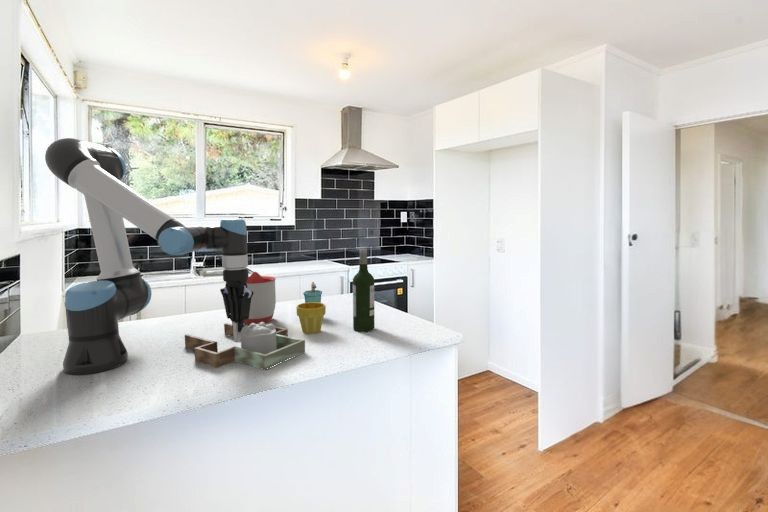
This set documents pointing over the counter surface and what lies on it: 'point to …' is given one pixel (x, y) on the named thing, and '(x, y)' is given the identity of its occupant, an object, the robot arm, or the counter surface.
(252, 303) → the citrus juicer
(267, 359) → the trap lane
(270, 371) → the counter surface
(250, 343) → the lumpy-topped squat cylinder
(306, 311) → the plant pot
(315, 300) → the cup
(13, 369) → the counter surface
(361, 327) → the wine bottle
